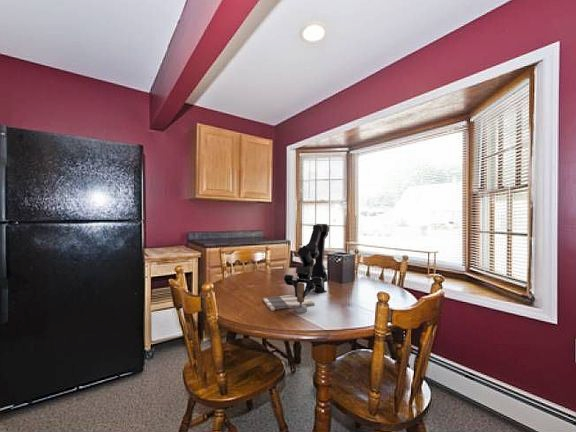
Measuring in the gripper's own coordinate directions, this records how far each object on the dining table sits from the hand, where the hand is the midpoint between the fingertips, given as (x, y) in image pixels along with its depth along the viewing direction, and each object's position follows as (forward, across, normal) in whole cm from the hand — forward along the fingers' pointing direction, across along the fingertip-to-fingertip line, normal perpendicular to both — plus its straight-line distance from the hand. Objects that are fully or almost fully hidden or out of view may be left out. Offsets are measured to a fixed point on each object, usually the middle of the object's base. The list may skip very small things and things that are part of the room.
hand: (299, 297), depth 129 cm
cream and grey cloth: (-2, -10, +12) cm, 15 cm away
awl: (+4, 0, +6) cm, 7 cm away
